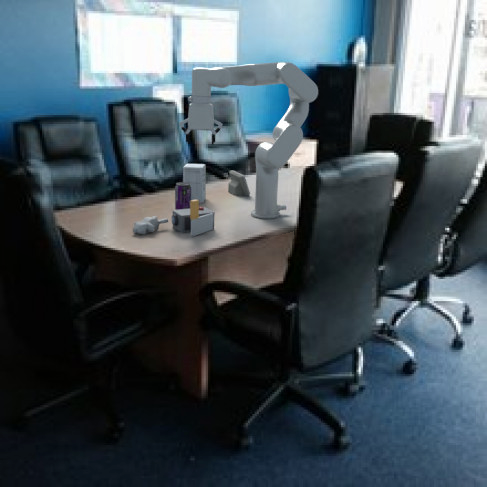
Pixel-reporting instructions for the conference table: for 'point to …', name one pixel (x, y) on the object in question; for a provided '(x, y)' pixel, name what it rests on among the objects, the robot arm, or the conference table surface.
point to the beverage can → (182, 195)
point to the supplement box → (196, 180)
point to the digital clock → (238, 184)
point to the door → (200, 219)
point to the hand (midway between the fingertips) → (200, 144)
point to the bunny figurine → (148, 225)
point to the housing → (186, 218)
